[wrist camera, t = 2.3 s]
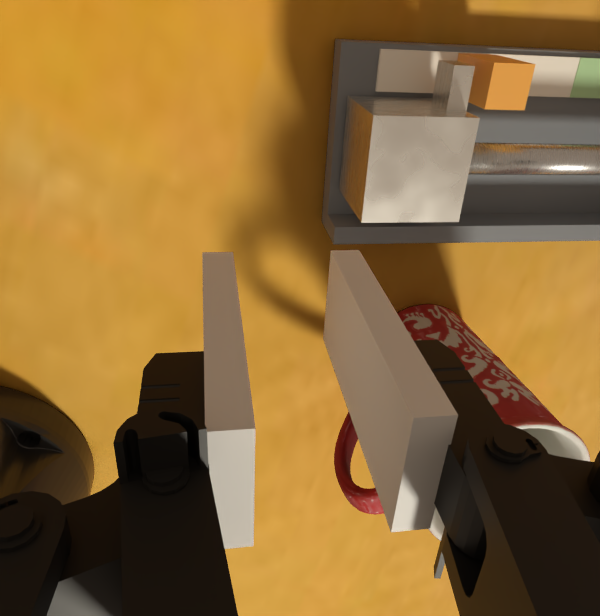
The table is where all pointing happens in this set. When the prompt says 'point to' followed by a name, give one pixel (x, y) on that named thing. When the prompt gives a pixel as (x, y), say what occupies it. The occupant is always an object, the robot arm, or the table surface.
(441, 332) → the mug
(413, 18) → the table surface
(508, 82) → the tangerine cube
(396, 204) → the grey block with bar
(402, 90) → the bench
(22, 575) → the robot arm
